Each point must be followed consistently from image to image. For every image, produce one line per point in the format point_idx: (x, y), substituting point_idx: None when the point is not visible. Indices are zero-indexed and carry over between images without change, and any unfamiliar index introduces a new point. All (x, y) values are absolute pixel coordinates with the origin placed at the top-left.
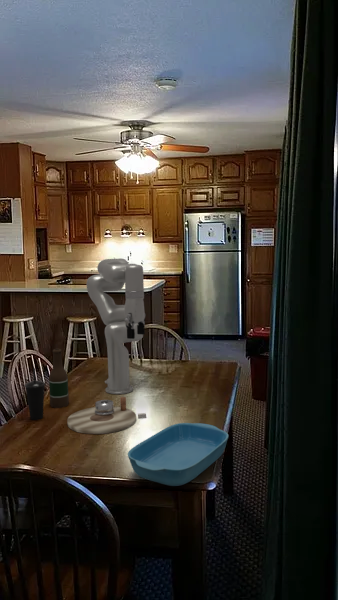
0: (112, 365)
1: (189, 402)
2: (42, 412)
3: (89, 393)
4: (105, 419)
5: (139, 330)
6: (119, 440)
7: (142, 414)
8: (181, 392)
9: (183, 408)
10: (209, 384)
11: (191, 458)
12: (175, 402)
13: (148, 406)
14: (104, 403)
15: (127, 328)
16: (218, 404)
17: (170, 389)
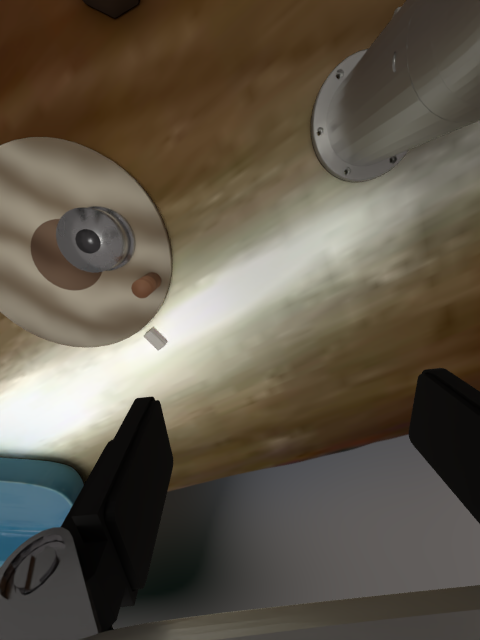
0: (383, 52)
1: (308, 385)
2: None
3: (293, 2)
4: (60, 276)
5: (451, 427)
6: (10, 361)
7: (151, 343)
8: (386, 334)
9: (261, 390)
10: (474, 370)
11: (28, 501)
12: (297, 356)
13: (241, 309)
14: (79, 248)
15: (32, 561)
16: (314, 441)
17: (409, 293)
